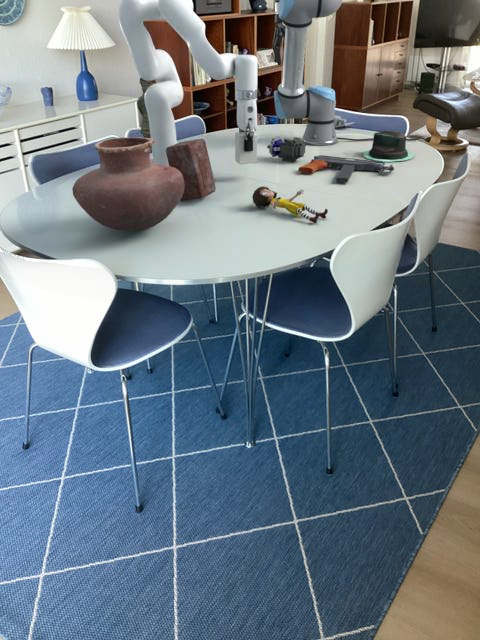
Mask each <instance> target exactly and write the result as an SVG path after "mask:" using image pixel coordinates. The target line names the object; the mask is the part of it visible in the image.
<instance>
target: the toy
mask: <svg viewBox="0 0 480 640" xmlns="http://www.w3.org/2000/svg"><path fill="white" fill-rule="evenodd" d="M266 149H268V153H269V154H270V156H271V158H275V157H277V158H278V159H282V161H283V162H291V163H294V162H297V161H298V159H299V160H300V159H301V158H303V157H305V154H306V144H305V143H304V142H303V140H302V139H301V138H300V137H296V136H295V137H293V139H291V138H290V139H289V138H284V140H283V139H282V138H281V137H280V135H276V136H273V137H271V140H270V144H268V145H266Z"/></svg>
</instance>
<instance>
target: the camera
mask: <svg viewBox="0 0 480 640" xmlns="http://www.w3.org/2000/svg"><path fill="white" fill-rule="evenodd" d="M336 104H337V100H335V107H336V106H337V105H336ZM335 111H336V108H335V109H334V113H335ZM353 124H355V121H351V122H347V119H345V118H342V117H341V116H340V115H336V114H334V128H341V127H342V128H343V127H347V126H350V125H353Z"/></svg>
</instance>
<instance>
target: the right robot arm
mask: <svg viewBox="0 0 480 640" xmlns="http://www.w3.org/2000/svg"><path fill="white" fill-rule="evenodd" d="M342 4H343V0H274V13H275V14H274V23H275V25H274V34H273V39H272V46H273V48H274V51H273V52H274V53H273V54H274V55H273V57H274V58H273V62H274V63H276V64H277V63H278V64H279V63H281V48H282V47H281V43H282V40H283V44H284V46H283V60H282V61H283V62H282V77H281V83H280V84H279V85H278V86H277V90H274V91H273V99H274V108H275V109H274V110H275V114H276V117H277V118H278V119H280V120H290V119H291V120H294V119H295V120H296V119H307V121H306V127H305V130H304V133H303V136H302V142H304V145H311V146H330V145H334V144H336V143H337V141H338V140H342V141H354V142H362V141H373V138H374V137H371V138H370V137H369V138H350V137H349V138H347V137H338V136H337V133H336V129H335V128H334V115H335V112H334V109H335V110H336V106H335V101H336V91H335V90H334V89H333V88H331V87H327V86H320V85H309V86H308V88H307V89H306V87H305V85H304V84H303V78H304V68H305V57H306V47H307V39H308V38H307V35H308V29H309V28H310V26H312V24H313V19H318V18H319V19H320V18H326V17H330V16H331V15H333V14H335V13H336V12H337V11H338V10H339V9H340V7H341V6H342ZM417 140H423V141H427V139H426V138H425V137H424V136H418V137H415V138H406V142H407V141H409V142H410V141H417Z"/></svg>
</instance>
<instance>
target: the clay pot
mask: <svg viewBox="0 0 480 640" xmlns="http://www.w3.org/2000/svg"><path fill="white" fill-rule="evenodd" d="M153 143H154V140H153V139H151V138H144V137H142V136H141V137H140V136H131V137H124V136H123V137H122V136H121V137H112V138H107V139H102V140H99V141H98V142H96V143H95V144H94V147H93V148H94V150H96V151H97V153H98V156H99V168H96V169H93V170H90V171H87V172H86V173H85V174H83V175H81V176H80V177H79V178H77V179H76V181H75V182H74V184H73V186H72V195H73V197H74V199H75V201H76V202H77V204H78V205H79V206H80V207H81V209H82V210H83V211H84V212H85V213H86V214H87V215H88V216H89V217H90V218H91V219H93V220H94V222H97V223H99V224H100V225H102V226H104V227H105V228H107V229H110V230H115V231H119V232H121V231H122V232H130V231H141V230H147V229H151V228H154V227H155V226H157V225H159V224H160V223H162V222H163V221H164V220H166V219H167V218H168V217H169V216H170V215H171V213H173V211H174V210H175V208H176V207H177V206H178V204H179V203H180V202H181V201H180V200H181V198H182V196H183V193H184V188H185V184H184V178H183V175H182V173H181V172H180V171H179V170H177V169H176V168H174V167H170V166H164V165H158V164H154V163H152V162H151V160H150V158H151V151H150V148H151V146H152V144H153Z"/></svg>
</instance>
